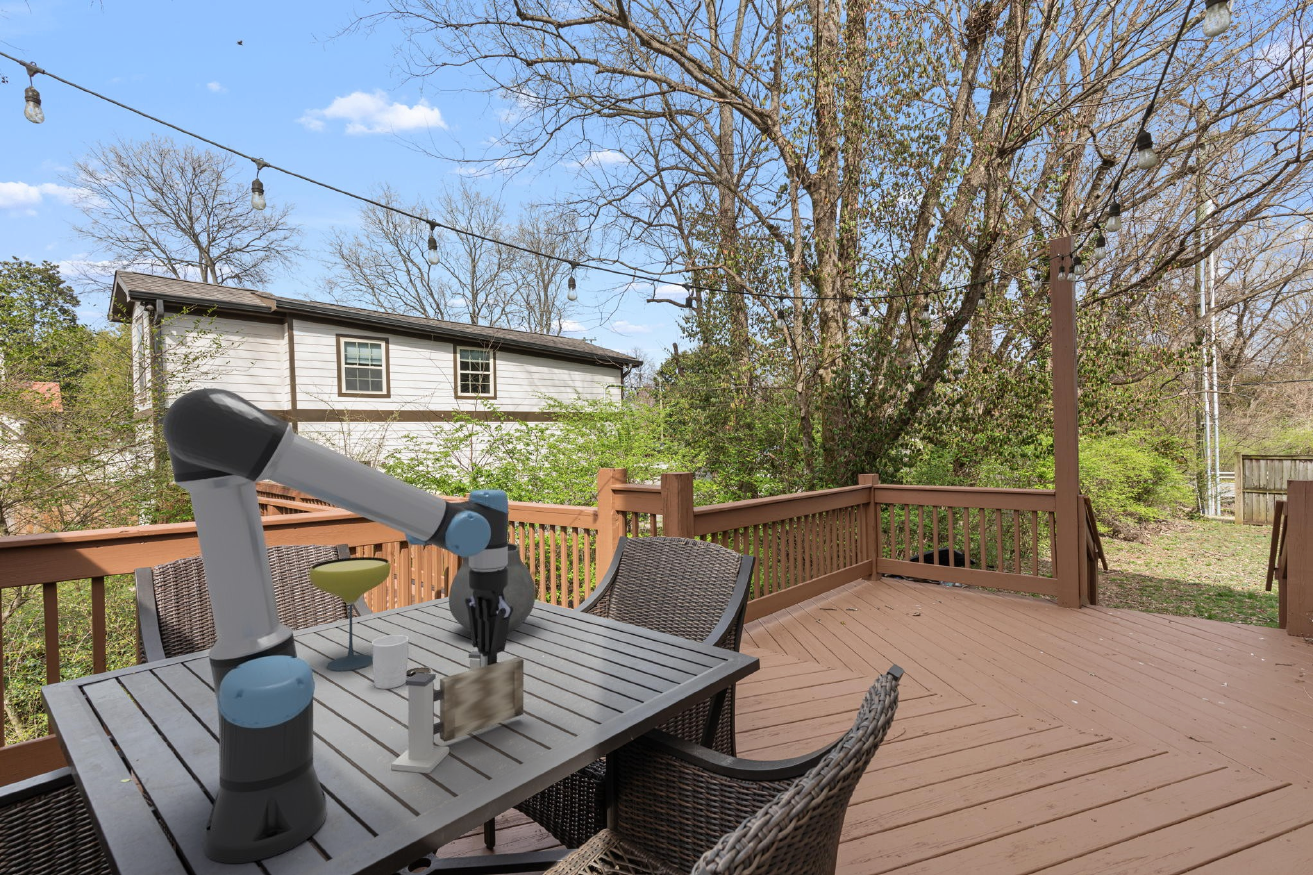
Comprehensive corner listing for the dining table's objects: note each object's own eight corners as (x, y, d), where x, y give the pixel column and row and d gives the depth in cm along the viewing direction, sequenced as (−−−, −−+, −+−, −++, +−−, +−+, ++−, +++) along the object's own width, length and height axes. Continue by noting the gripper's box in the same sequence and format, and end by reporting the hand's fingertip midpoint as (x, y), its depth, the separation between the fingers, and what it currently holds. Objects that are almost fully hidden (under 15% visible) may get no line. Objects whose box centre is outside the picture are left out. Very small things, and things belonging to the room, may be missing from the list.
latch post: (486, 710, 130) (486, 659, 130) (459, 708, 131) (459, 657, 131) (498, 698, 136) (498, 649, 136) (472, 696, 137) (472, 647, 137)
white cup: (395, 691, 140) (395, 647, 140) (364, 688, 142) (364, 644, 142) (415, 678, 148) (415, 635, 148) (385, 675, 149) (385, 633, 149)
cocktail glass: (315, 655, 162) (315, 559, 162) (391, 647, 169) (391, 554, 169) (303, 681, 146) (303, 574, 145) (388, 671, 152) (388, 568, 152)
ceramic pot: (449, 623, 190) (449, 541, 190) (530, 617, 197) (530, 537, 197) (448, 650, 167) (448, 556, 167) (540, 641, 174) (540, 551, 174)
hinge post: (429, 773, 106) (429, 686, 106) (391, 769, 107) (391, 683, 107) (449, 752, 113) (449, 671, 113) (413, 749, 114) (413, 668, 114)
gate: (427, 748, 112) (427, 686, 112) (422, 744, 113) (422, 683, 113) (523, 714, 126) (523, 659, 125) (518, 711, 127) (518, 656, 127)
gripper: (524, 568, 124) (523, 687, 124) (485, 560, 132) (484, 671, 132) (492, 575, 118) (492, 700, 118) (453, 565, 126) (453, 682, 126)
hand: (488, 685), depth 125 cm, fingers closed
